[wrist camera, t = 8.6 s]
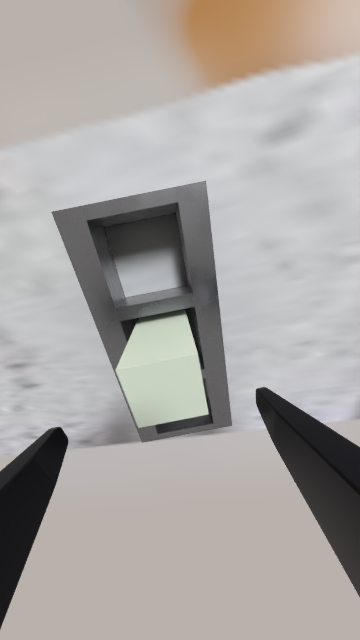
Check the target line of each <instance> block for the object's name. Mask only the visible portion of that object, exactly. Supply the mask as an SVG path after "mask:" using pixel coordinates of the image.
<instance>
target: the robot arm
mask: <svg viewBox="0 0 360 640" xmlns="http://www.w3.org/2000/svg"><path fill="white" fill-rule="evenodd" d="M256 404H257V407H258V410H259V412H260V414H261V416H262V419H263V421H264V423H265V425H266V428H267V430H268V432H269V434H270V437H271V439H272V441H273V443H274V445H275V447H276V449H277V451H278V452H279V454H280V456H281V458H282V460H283V461H284V463H285V465H286V467H287V468H288V470H289V472H290V474H291V475H292V477H293V479H294V481H295V483H296V484H297V486H298V488H299V490H300V492H301V493H302V495H303V497H304V499H305V500H306V502H307V504H308V506H309V507H310V509H311V511H312V513H313V515H314V516H315V518H316V520H317V522H318V524H319V525H320V527H321V529H322V531H323V533H324V534H325V536H326V538H327V540H328V541H329V543H330V545H331V547H332V548H333V550H334V552H335V554H336V555H337V557H338V559H339V561H340V563H341V565H342V566H343V568H344V570H345V572H346V573H347V575H348V577H349V579H350V581H351V582H352V584H353V586H354V588H355V589H356V591H357V593H358V595H359V597H360V447H359V446H357V445H356V444H354V443H352V442H351V441H349V440H348V439H346V438H344V437H343V436H341V435H340V434H338V433H337V432H335V431H334V430H332V429H330V428H329V427H327V426H326V425H324V424H323V423H321V422H319V421H318V420H316V419H315V418H313V417H312V416H310V415H309V414H307V413H305V412H304V411H302V410H301V409H299V408H298V407H296V406H294V405H293V404H291V403H290V402H288V401H287V400H285V399H283V398H282V397H280V396H279V395H277V394H276V393H274V392H272V391H271V390H269V389H268V388H266V387H262V388H257V389H256ZM67 446H68V438H67V436H66V434H65V433H64V431H63V430H62V428H61V427H55V428H51V429H49V430H48V431H46V432H45V433H44V434H43V435H42V436H41V437H40V438H38V439H37V440H36V441H35V442H34V443H33V444H31V445H30V446H29V447H28V448H27V449H26V450H25V451H23V452H22V453H21V454H20V455H19V456H18V457H16V458H15V459H14V460H13V461H12V462H11V463H10V464H8V465H7V466H6V467H5V468H4V469H3V470H1V471H0V629H1V626H2V623H3V621H4V618H5V615H6V613H7V610H8V608H9V605H10V603H11V600H12V597H13V595H14V592H15V590H16V587H17V584H18V582H19V579H20V577H21V574H22V571H23V569H24V566H25V564H26V561H27V558H28V556H29V553H30V551H31V548H32V545H33V543H34V540H35V538H36V535H37V532H38V530H39V527H40V525H41V522H42V519H43V517H44V514H45V512H46V509H47V506H48V504H49V501H50V499H51V496H52V493H53V491H54V488H55V485H56V482H57V479H58V476H59V472H60V469H61V466H62V462H63V459H64V455H65V452H66V449H67Z"/></svg>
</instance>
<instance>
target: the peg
mask: <svg viewBox="0 0 360 640" xmlns="http://www.w3.org/2000/svg"><path fill="white" fill-rule="evenodd" d="M115 371H116V373H117V376H118V378H119V381H120V383H121V386H122V388H123V391H124V393H125V396H126V398H127V401H128V403H129V406H130V408H131V411H132V413H133V416H134V418H135V421H136V423H137V426H138V428H142V427H147V426H152V425H157V424H162V423H167V422H172V421H177V420H183V419H188V418H193V417H198V416H203V415H208V414H209V413H208V407H207V402H206V396H205V391H204V385H203V380H202V374H201V369H200V363H199V357H198V353H197V349H196V346H195V342H194V339H193V335H192V332H191V328H190V325H189V322H188V318H187V315H186V311H185V309H181V310H175V311H170V312H165V313H160V314H155V315H150V316H145V317H140V318H138V320H137V323H136V325H135V327H134V329H133V332H132V334H131V336H130V338H129V341H128V343H127V345H126V347H125V350H124V352H123V354H122V356H121V359H120V361H119V363H118V365H117V368H116V370H115Z"/></svg>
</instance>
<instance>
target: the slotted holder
mask: <svg viewBox="0 0 360 640" xmlns="http://www.w3.org/2000/svg"><path fill="white" fill-rule="evenodd" d="M172 213H176V215H177V221H178V227H179V233H180V239H181V245H182V251H183V257H184V263H185V269H186V275H187V281H188V286H183V287H178V288H173V289H168V290H163V291H158V292H153V293H148V294H143V295H137V296H132V297H127V298H125V295H124V292H123V289H122V285H121V282H120V279H119V276H118V272H117V269H116V266H115V263H114V259H113V256H112V253H111V250H110V246H109V243H108V240H107V237H106V233H105V230H104V227H107V226H112V225H117V224H122V223H127V222H132V221H137V220H142V219H147V218H152V217H157V216H162V215H167V214H172ZM52 214H53V217H54V220H55V222H56V225H57V227H58V230H59V232H60V235H61V237H62V240H63V242H64V245H65V248H66V250H67V253H68V255H69V258H70V260H71V263H72V265H73V268H74V270H75V273H76V276H77V278H78V281H79V283H80V286H81V288H82V291H83V293H84V296H85V298H86V301H87V304H88V306H89V309H90V311H91V314H92V316H93V319H94V321H95V324H96V326H97V329H98V332H99V334H100V337H101V339H102V342H103V344H104V347H105V349H106V352H107V354H108V357H109V360H110V362H111V365H112V367H113V370H114V372H115V375H116V377H117V380H118V382H119V385H120V388H121V390H122V393H123V395H124V398H125V400H126V403H127V405H128V408H129V410H130V413H131V416H132V418H133V421H134V423H135V426H136V428H137V431H138V433H139V436H140V438H141V441H142V442H147V441H153V440H158V439H163V438H169V437H174V436H179V435H185V434H190V433H195V432H200V431H206V430H211V429H216V428H222V427H227V426H232V421H231V412H230V402H229V393H228V383H227V374H226V365H225V355H224V346H223V337H222V327H221V318H220V308H219V299H218V290H217V280H216V271H215V261H214V252H213V243H212V233H211V224H210V214H209V205H208V196H207V186H206V181H203V182H198V183H193V184H188V185H183V186H178V187H173V188H168V189H163V190H158V191H153V192H148V193H143V194H138V195H133V196H128V197H123V198H118V199H113V200H108V201H103V202H98V203H93V204H88V205H84V206H79V207H74V208H69V209H64V210H59V211H54V212H52ZM191 307H192V311H193V317H194V323H195V329H196V335H197V341H198V347H199V350H197V353H198V357H199V363H200V369H201V374H202V379H204V383H205V389H206V395H207V400H206V402H207V407H208V413H209V414H208V415H203V416H198V417H193V418H188V419H183V420H177V421H172V422H167V423H162V424H157V425H152V426H147V427H142V428H138V426H137V423H136V421H135V418H134V416H133V413H132V411H131V408H130V406H129V403H128V401H127V398H126V396H125V393H124V391H123V388H122V386H121V383H120V381H119V378H118V376H117V373H116V371H115V370H116V368H117V365H118V363H119V361H120V359H121V356H122V354H123V352H124V350H125V347H126V345H127V343H128V341H129V338H130V336H131V334H132V332H133V329H134V325H133V321H132V319H134V318H140V317H145V316H150V315H155V314H160V313H165V312H170V311H175V310H181V309H186V308H191Z"/></svg>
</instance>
